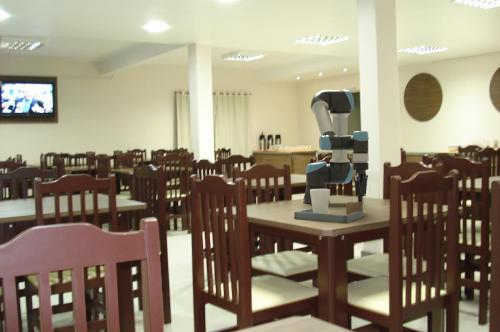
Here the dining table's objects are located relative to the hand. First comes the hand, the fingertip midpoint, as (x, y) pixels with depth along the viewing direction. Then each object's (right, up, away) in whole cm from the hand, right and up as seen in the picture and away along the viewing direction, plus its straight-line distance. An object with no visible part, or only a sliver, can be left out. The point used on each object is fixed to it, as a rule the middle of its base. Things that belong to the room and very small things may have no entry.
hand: (361, 208), depth 270 cm
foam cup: (-22, -3, -12) cm, 25 cm away
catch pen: (-18, -3, -15) cm, 23 cm away
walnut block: (-4, -2, -6) cm, 8 cm away
